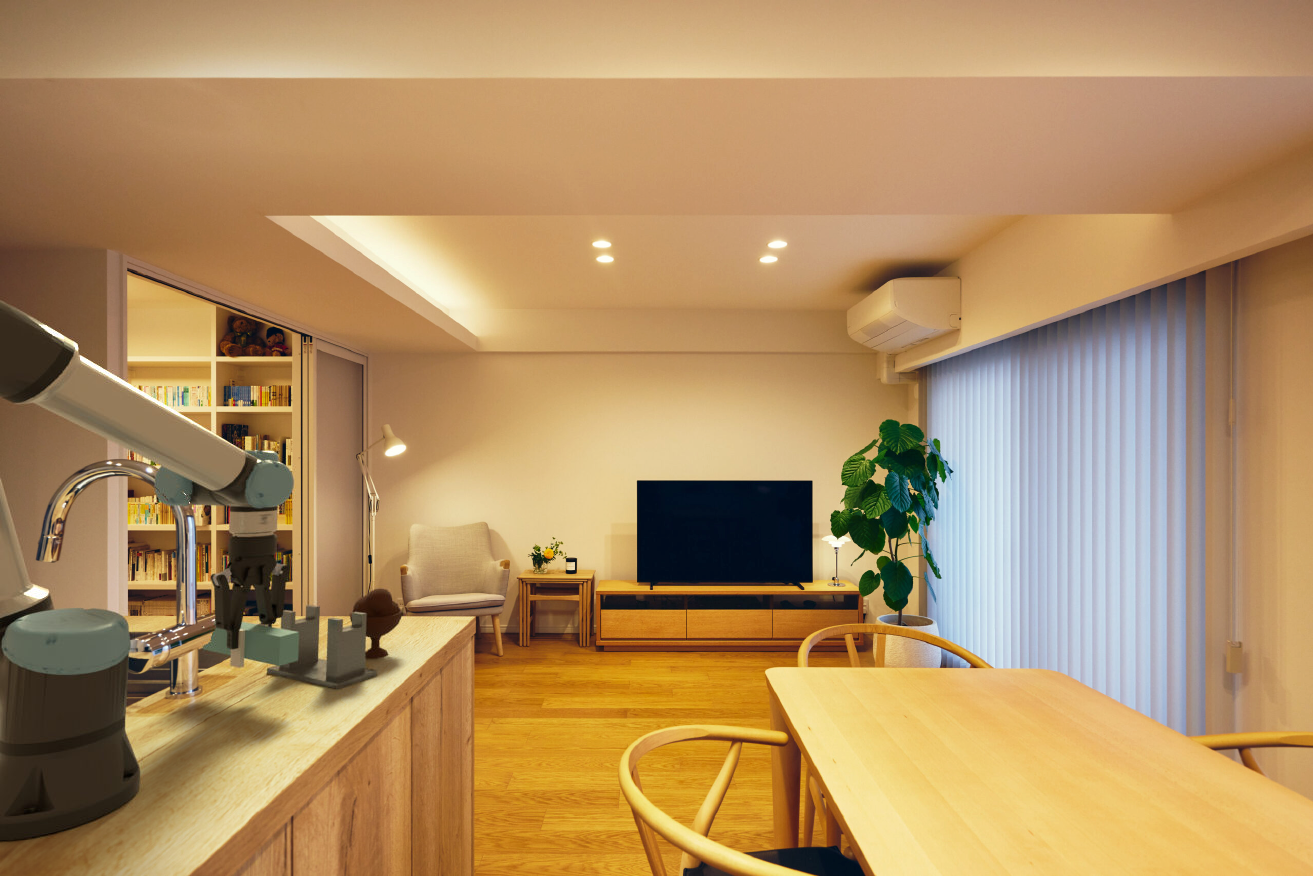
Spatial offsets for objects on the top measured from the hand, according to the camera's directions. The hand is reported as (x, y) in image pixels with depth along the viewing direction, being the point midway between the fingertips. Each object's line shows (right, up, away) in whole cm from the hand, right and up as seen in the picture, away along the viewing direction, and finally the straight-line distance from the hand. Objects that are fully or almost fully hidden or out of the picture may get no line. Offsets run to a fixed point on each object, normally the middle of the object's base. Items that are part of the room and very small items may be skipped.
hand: (248, 662), depth 116 cm
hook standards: (+6, -7, +13) cm, 16 cm away
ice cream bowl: (+11, -8, +26) cm, 30 cm away
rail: (0, +1, 0) cm, 1 cm away
